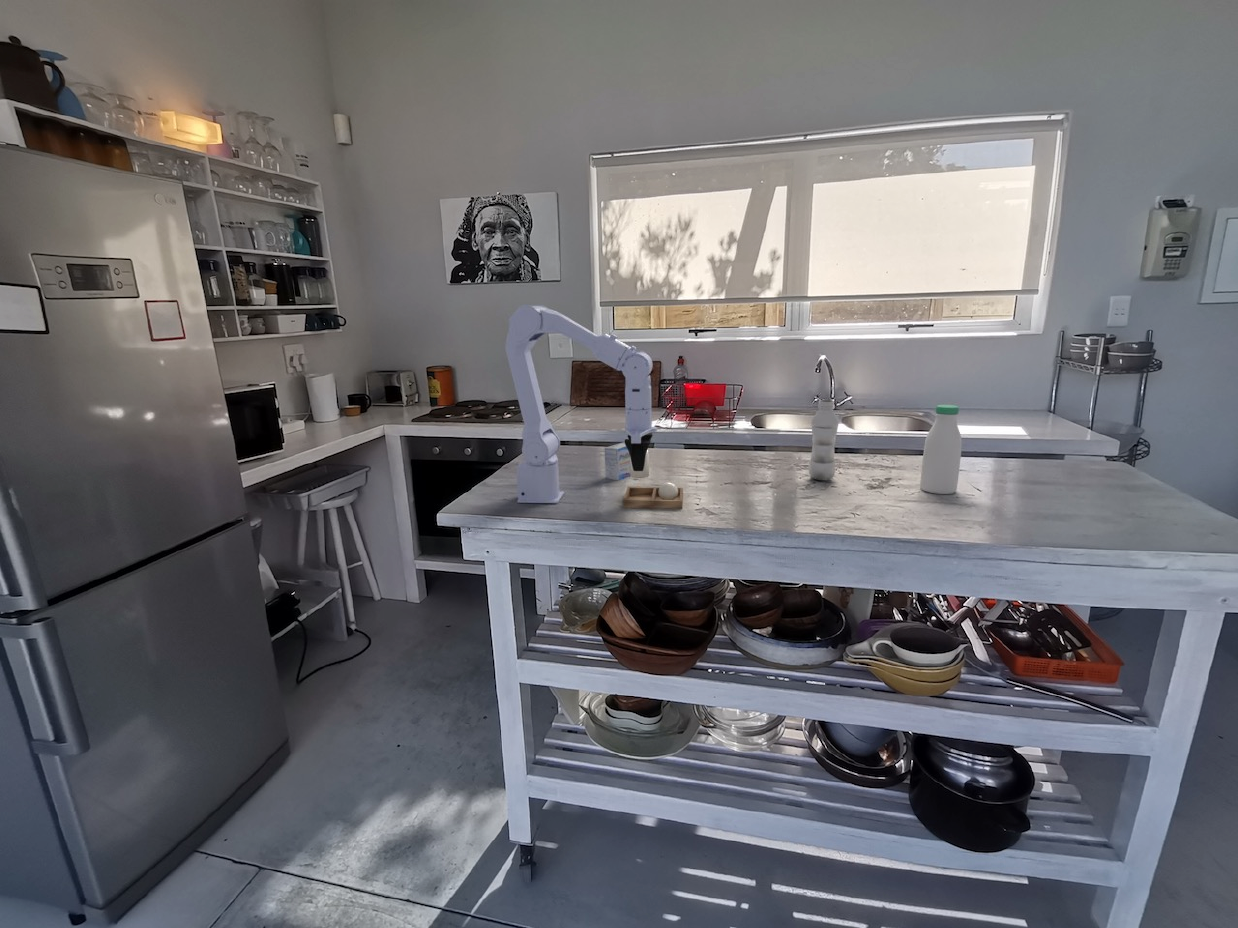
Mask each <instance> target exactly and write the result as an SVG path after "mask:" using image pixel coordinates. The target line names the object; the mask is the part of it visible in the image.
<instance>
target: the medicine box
mask: <svg viewBox="0 0 1238 928" xmlns="http://www.w3.org/2000/svg"><path fill="white" fill-rule="evenodd" d="M604 470H605V471H604V472H605V474H604V476H605V479H608V480H609V479H610V480H613V481H614V480H615V481H620V480H623V479H625V478H629V477H631V476H630V454H629V451H628V449H627V447H626V445H625V441H624V442H620V443H616V444H613V445H609V446H607V447H604ZM631 478H632V477H631Z"/></svg>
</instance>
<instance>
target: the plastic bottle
mask: <svg viewBox="0 0 1238 928" xmlns="http://www.w3.org/2000/svg"><path fill="white" fill-rule="evenodd" d="M817 409H818V411H817V412H816V413H815V414H814V416H813V417H812V418H811V419H812V420H811V433H812V434H811V435H812V448H811V453H810V454H811V456H810V461H809V465H808V474H809V476H810V478H811V479H812V480H813V479H814V480H817V481H829V480H832V479H833V478H834V477H835V473H836V462H835V444H836V438H837V433H838V429H839V424H840V423H839V418H838V417H837V415H836V413H835V412H834V409H835V400H833V399H819V400H818V404H817Z"/></svg>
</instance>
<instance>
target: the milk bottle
mask: <svg viewBox="0 0 1238 928" xmlns="http://www.w3.org/2000/svg"><path fill="white" fill-rule="evenodd" d="M959 412H960V407H959V406H958V405H953V404H938V405H936V407H935V414H934V415H935V420H934V423H933V425H932V426H931V428H930V429H929V430H928V432H927V434H926V438H925V441H924V446H923V455H922V462H921V463H922V464H921V472H920V481H919V482H920V483H919V488H920V490H922V491H924V492H927V493H931V494H938V495H952V494H954V493H956V492H957V489H958V481H959V477H960V476H959V474H960V466H961V458H962V449H963V448H962V447H963V440H962V435H961V433H960V432H961V431H960V430H959V427H958V423H957V418H958V417H959Z"/></svg>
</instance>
